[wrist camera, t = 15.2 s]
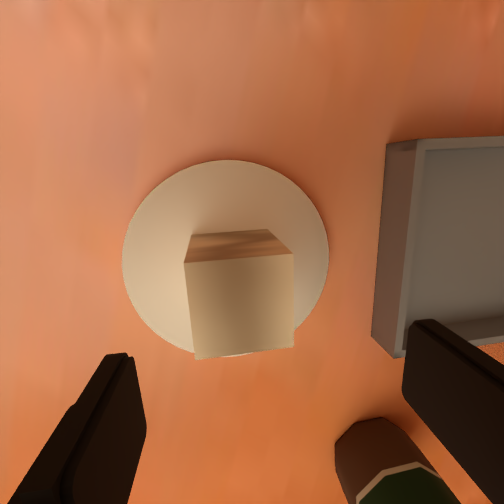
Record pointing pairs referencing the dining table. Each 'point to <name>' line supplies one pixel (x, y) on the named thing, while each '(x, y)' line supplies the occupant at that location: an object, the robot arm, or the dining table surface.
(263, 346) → the birch block
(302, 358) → the dining table surface
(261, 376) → the dining table surface
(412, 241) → the gray bin
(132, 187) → the dining table surface
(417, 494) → the beer bottle
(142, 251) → the off-white plate
